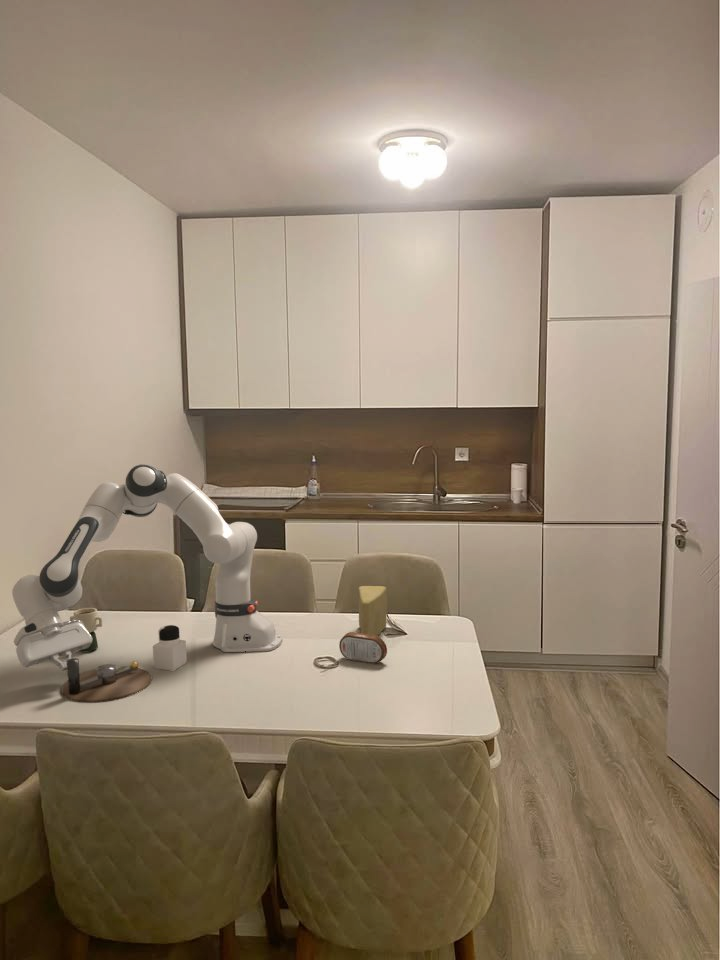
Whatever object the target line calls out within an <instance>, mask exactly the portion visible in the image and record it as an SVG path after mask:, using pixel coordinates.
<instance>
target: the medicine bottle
mask: <svg viewBox="0 0 720 960" xmlns="http://www.w3.org/2000/svg"><path fill="white" fill-rule="evenodd" d="M152 654H153V655H152V658H153V669H156V670H162V671H165V670H166V671H170V672H171V671H172V672H173V671H176V670H177V669H179V668H181V667H182V666H184V665H185V664H186V663H187V642H186V640H185V639H180V627H179V626H178V625H177V626H176V625H173V624H171V625H170V624H169V625H164V626H161V627H160V628H159V629H158V642H157V643H155V644H153V645H152Z"/></svg>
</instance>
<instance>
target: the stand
mask: <svg viewBox="0 0 720 960" xmlns="http://www.w3.org/2000/svg"><path fill="white" fill-rule="evenodd" d="M129 667H130V665H129V666H126V665H125V666H124V665H122V666H121V665H120V666H118V665H116V672H118V671H120V670H123V669H126V668H129ZM97 676H98V674H97V668H95V669H91V670H88V671H83V672H82V673H80V682H82V681H85V680H88V679H91V678H94V677H97ZM152 680H153V679H152V674H151V673H150V671H148V669H147V670H146V669H144V668H140V667H138V668H137V670H134V671H132V672H129V673H126V674H123V675H120V676H117V680H116V681H115V682H113V683H110V684H102V685H99V686H96V687H93V688H90V689H87V690H85V691H82V692H80V693H78V694H69V687H68V679H67V680H66V681H65V682H64V683H63V684H62V686H61V693H63V694H62V695H63V697H65V696H66V697H67V699H68V698H69V700H71V699H72V700H71V701H75V700H76V702H80V701H84V703H101V701H102V702H109V701H114V700H115V699H116V700H120V699H124V698H127V697H126V696H128V697H130V696H129V695H131V696H133V695H136V694H138V693H140V692H141V690H142V691H143V689H144V690H145V689H147V688H148V687H149V686H150V685H151V683H152ZM139 691H140V692H139ZM137 692H138V693H137ZM135 693H136V694H135ZM132 694H133V695H132ZM66 697H65V698H66ZM123 697H124V698H123Z"/></svg>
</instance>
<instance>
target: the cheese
mask: <svg viewBox="0 0 720 960" xmlns="http://www.w3.org/2000/svg"><path fill="white" fill-rule="evenodd" d="M387 592H388V591H387V587H386V586H383V585H382V586H381V585H376V586H375V585H362V586H359V587H358V625H359V629H360V633H362V634H368V635H375V636H378V637H379V635H380V633H381V632H382V631H383V630H384V629H386V627H387V615H388V614H387V613H388V597H387V596H388V595H387Z"/></svg>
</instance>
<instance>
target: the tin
mask: <svg viewBox="0 0 720 960" xmlns="http://www.w3.org/2000/svg"><path fill="white" fill-rule="evenodd" d="M339 652H340V654H341V655H342V656H343V657H344V658H345V659H346V660H349V661H353V662H359V663H364V664H370V665H371V664H372V665H376V664H379V663H380V662H381V661H383V660H384V659H385V658H386V656H387V653H388V647H387V644H386V642H385V641H384V639H382V638H381V637H379V635H378V636H375V635H368V634H362V633H361V632H354V631H350V632H347V633H345V634H344V635H343V636H342V637H341V639H340V641H339Z"/></svg>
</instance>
